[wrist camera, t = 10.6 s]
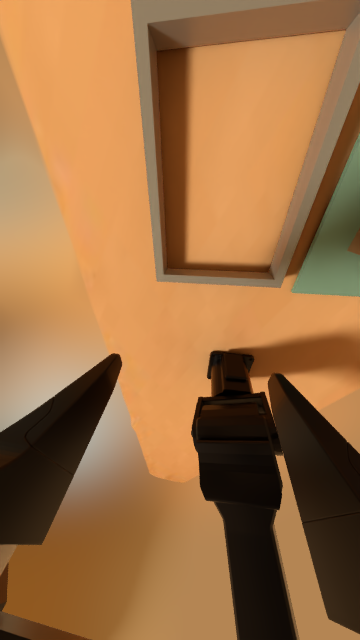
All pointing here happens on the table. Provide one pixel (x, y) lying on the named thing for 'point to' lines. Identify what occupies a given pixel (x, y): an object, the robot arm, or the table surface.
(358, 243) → the walnut block
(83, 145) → the table surface
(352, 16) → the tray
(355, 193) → the mat
